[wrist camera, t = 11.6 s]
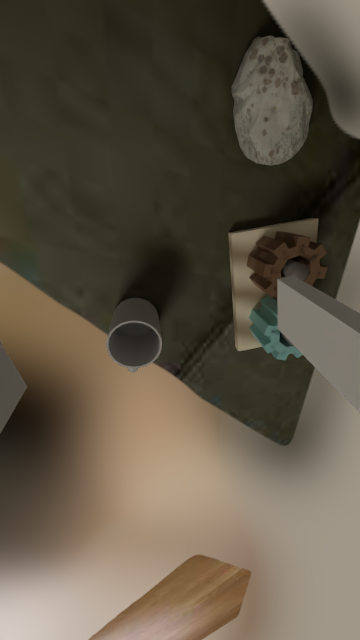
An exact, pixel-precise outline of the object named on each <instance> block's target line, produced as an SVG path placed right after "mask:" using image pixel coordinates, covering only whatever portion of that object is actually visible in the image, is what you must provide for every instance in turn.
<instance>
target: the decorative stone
mask: <svg viewBox="0 0 360 640" xmlns="http://www.w3.org/2000/svg"><path fill="white" fill-rule="evenodd" d="M232 96H233V98H234V108H233V114H234V121H235V129H236V133H237V137H238V141H239V145H240V147H241V149H242V151H243V153H244V155H245V156H246V157H247V158H248V159H250V160H252V161H254V162H255V163H258V164H264V165H277V164H281V163H283V162H285V161H287V160H289V159H290V158H292V157H293V156H294V155H295V154H296V153H297V152H298V151H299V149H300V148H301V147H302V145H303V143H304V142H305V140H306V138H307V135H308V130H309V129H308V128H309V121H310V117H311V113H312V105H313V100H312V97H311V94H310V92H309V89H308V87H307V85H306V83H305V80H304V78H303V69H302V65H301V61H300V57H299V54H298V52H297V51H296V50H293V49H292V47H291V43H290V41H289V39H288V38H281V37H278V38H275V37H274V36H270V35H269V36H266V37H260V36H258V37H256V38H255V39H254V40H253V42H252V44H251V46H250V47H249V48H248V50H247V52H246V53H245V55H244V58H243V60H242V63H241V65H240V68H239V70H238V73H237V75H236V78H235V80H234V82H233V85H232Z"/></svg>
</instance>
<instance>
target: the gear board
mask: <svg viewBox="0 0 360 640" xmlns="http://www.w3.org/2000/svg"><path fill="white" fill-rule="evenodd" d="M276 231H280V232H289V233H294V234H298V235H302V236H307V237H311V238H310V241H311V242H315V243H317V231H318V219H317V218H309V219H304V220H298V221H292V222H286V223H281V224H275V225H269V226H263V227H258V228H252V229H246V230H241V231H235V232H229V233H228V235H229V251H230V267H231V283H232V299H233V315H234V331H235V347H236V349H237V350H238V351H242V350H247V349H252V348H257V347H262V345H261V344H260V343H259V342H258V341H257V339H256V338H255V337H254V336H253V334H252V332H251V330H250V329H249V328H250V327H252V326H253V325H255V324H254V323H253V322H252V321H251V320H250V319H249V316H250V313H251V311H252V309H254V310H259V309H260V308H261V307H262V306H263V305H262V303H261V301H260V300H261V299H263V298H264V297H266V296H268V295H267V294H266V293H265V292H263V291H262V290H261V289H260V288H258V287H257V286H256V285H254V283H253V282H252V281H251V279H250V278H249V277H250V276H251V275H252V274H254V273H255V271H254V270H252V269H250V268H249V267H247V260H248V255H253V256H256V254H257V253H258V251H259V248H258V247H257V245H256V244H255V243H256V242H257V241H259V240H260V239H261V238H262V237H263V236H266V237H270V238H273V239H275V236H276ZM308 274H309V269H308V267H307V266H306V265H304V264H301V263H299V262H296V261H294V260H291V259H288V260H287V262H286V263H285V265H284V267H283V268H282V270H281V275H282V276H284V277H288V276H295V277H297V278H298V279H300V280H302V281H304V280H305V279H306V278H307V277H308ZM312 286H313V284H312ZM272 298H273V299H275V300H277V299H276V298H275V297H274V296H273V297H272ZM280 335H281V336H282V337H283V338H284V339H285V340H286V341H288V342H289V343H290V344H291V345H293V344H292V343H291V342H290V341H289V340H288V339H287V338H286V337H285V336H284V335H283V334H282V333H281V332H280Z"/></svg>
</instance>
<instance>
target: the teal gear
mask: <svg viewBox="0 0 360 640" xmlns="http://www.w3.org/2000/svg"><path fill="white" fill-rule="evenodd" d="M260 301H261V303H262V305H263V306H262V307H261V308H260V309H259V310H254V309H252V311H251V313H250V316H249V319H250V320H251V321H252V322H253V323H254V324H255V325H253V326H252V327H250V328H249V329H250V330H251V332H252V334H253V336H254V337H255V338H256V339H257V341H258V342H259V343H260V344H261V345H262V347H263V348H264V349H265V350H266V352H267V353H270V352H271V353H272V354H273V356H274V357H275V358H276V359H280V360H286V358H287V356H288V354H291V353H293V354H294V355H295V356H296V357H297V358H298V357H300V356H302V355H303V354H302V353H301V352H300V351H299V350H298V349H297V348H296V347H295V346H294V345H291V344H290V343H289V342H288V341H286V340H285V339H284V338H283V337H282V336H281V335H280V331H279V329H278V301H277V300H275V299H273V298H271V297H270V296H269V295H268V296H266V297H264V298H263V299H261V300H260Z"/></svg>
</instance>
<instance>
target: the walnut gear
mask: <svg viewBox="0 0 360 640" xmlns="http://www.w3.org/2000/svg"><path fill="white" fill-rule="evenodd" d="M310 238H311V237H307V236H302V235H298V234H294V233H289V232H280V231H276V236H275V239H273V238H270V237H266V236H263V237H262V238H261V239H260V240H259V241H257V242H256V243H255V244H256V245H257V247H258V248H259V251H258V253H257V254H256V256H253V255H248V260H247V267H249V268H250V269H252V270H254V271H255V273H254V274H252V275H251V276H250V277H249V278H250V279H251V281H252V282H253V283H254V285H256V286H257V287H258V288H260V289H261V290H262V291H263V292H265V293H266V294H267V295H269V296H270V297H271V298H272V297H273V296H274V297H275V298H276V299H277V279H279V278H284V276H282V275H281V270H282V268H283V267H284V265H285V263H286V262H287V260H288V259H291V260H294V261H296V262H299V263H301V264H304V265H306V266H307V267H308V269H309V274H308V277H307V278H306V279H305V280H304V282H305V283H307V284H309V285H311V286H312V284H313V283H314V282H315V280H316V279H324V278H325V275H326V272H327V269H328V267H326V266H324V265H321V264H320V259H321V258H322V257H323V256H325V255H326V254H327V253H326V251H325V249H324V247H323V246H322V244H319V243H315V242H311V241H310ZM312 287H313V286H312Z"/></svg>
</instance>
